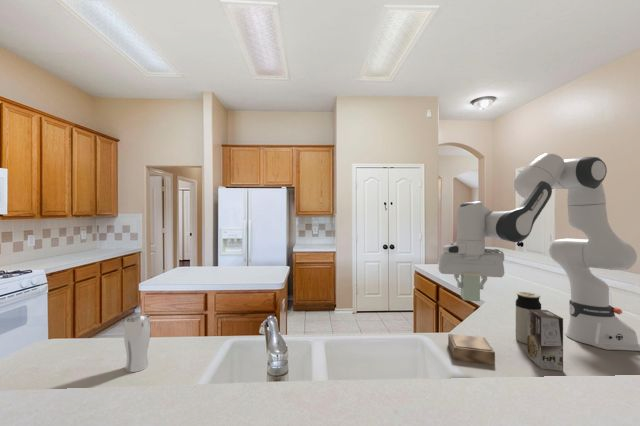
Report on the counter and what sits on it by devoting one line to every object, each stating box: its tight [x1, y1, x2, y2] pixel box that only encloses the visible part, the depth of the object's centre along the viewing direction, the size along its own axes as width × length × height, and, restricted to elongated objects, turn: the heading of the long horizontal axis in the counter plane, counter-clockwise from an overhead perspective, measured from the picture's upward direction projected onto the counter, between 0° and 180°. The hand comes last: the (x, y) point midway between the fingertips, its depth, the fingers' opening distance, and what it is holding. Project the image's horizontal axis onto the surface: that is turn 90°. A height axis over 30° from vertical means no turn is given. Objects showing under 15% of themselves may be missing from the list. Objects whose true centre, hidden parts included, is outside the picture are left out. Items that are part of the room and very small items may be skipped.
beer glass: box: [123, 314, 152, 373], centre depth 90 cm, size 7×7×15 cm
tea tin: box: [460, 273, 481, 302], centre depth 101 cm, size 5×5×9 cm
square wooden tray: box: [447, 333, 496, 366], centre depth 101 cm, size 12×12×4 cm
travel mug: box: [515, 291, 542, 345], centre depth 112 cm, size 8×8×18 cm
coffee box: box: [527, 309, 564, 372], centre depth 95 cm, size 9×6×16 cm
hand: (470, 288), depth 101 cm, fingers closed on tea tin, 5 cm apart
